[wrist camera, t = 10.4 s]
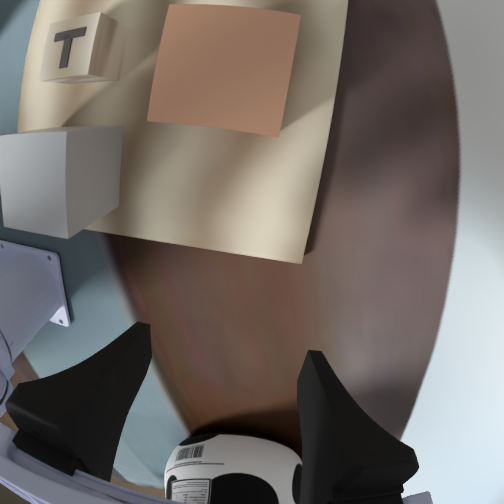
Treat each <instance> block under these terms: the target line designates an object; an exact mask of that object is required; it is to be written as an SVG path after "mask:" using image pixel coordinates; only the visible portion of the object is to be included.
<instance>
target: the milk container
mask: <svg viewBox="0 0 504 504" xmlns="http://www.w3.org/2000/svg"><path fill="white" fill-rule="evenodd" d="M301 477H302V461H301V459H300V457H299V456H298V455H297V454H296V453H295V452H294V451H293V450H292V449H291V448H290V447H288V446H286V445H284V444H282V443H279V442H277V441H274V440H272V439H270V438H265V437H260V436H256V435H252V434H245V433H231V432H220V433H207V434H202V435H198V436H194V437H191V438H188V439H185V440H184V441H182V442H181V443H180V444H179V445H178V446H177V447H176V448H175V449H174V451H173V452H172V454H171V456H170V458H169V460H168V463H167V465H166V469H165V476H164V481H165V494H166V499H168V500H173V501H177V502H182V503H187V504H299V502H300V491H301Z"/></svg>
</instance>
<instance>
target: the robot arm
mask: <svg viewBox="0 0 504 504" xmlns="http://www.w3.org/2000/svg"><path fill="white" fill-rule="evenodd" d="M50 257H51V258H50ZM48 321H51V322H54V323H57V324H60V325H63V326H66V327H68V326H69V325H70V324H71V322H70V317H69V313H68V308H67V303H66V297H65V292H64V286H63V280H62V274H61V267H60V259H59V256H58V254H57V253H55V252H50V251H46V250H41V249H37V248H33V247H28V246H24V245H20V244H16V243H11V242H7V241H3V240H0V417H1V416H2V415H3V414H4V413H5V411H6V410H7V412H8V414H9V415H10V417H11V418H12V420H13V421H14V423H15V424H16V426H17V427H18V428H19V430H18V432H17V434H16V433H15V432H14V431H12V430H11V429H10V428H8V427H6V426H5V425H3V424H2V423H0V483H2V484H3V485H4V486H6V487H7V488H9V489H10V490H12V491H13V492H15V493H16V494H18V495H19V496H21V497H22V498H24V499H25V500H27V501H29V502H31V503H32V504H187V503H182V502H177V501H173V500H168V499H164V498H160V497H156V496H152V495H149V494H145V493H141V492H138V491H134V490H131V489H128V488H125V487H122V486H119V485H116V484H113V483H110V479H111V474H112V469H113V464H114V460H115V455H116V451H117V447H118V444H119V440H120V436H121V433H122V430H123V427H124V423H125V420H126V417H127V415H128V412H129V410H130V408H131V406H132V403H133V401H134V399H135V397H136V395H137V393H138V391H139V389H140V387H141V384H142V382H143V380H144V378H145V376H146V373H147V370H148V368H149V364H150V361H151V358H152V350H151V336H150V324H146V323H141V322H136V323H135V324H134V325H132V326H131V327H130V328H129V329H128V330H126V331H125V332H124V333H123V334H121V335H120V336H119V337H118V338H116V339H115V340H114V341H112V342H111V343H110V344H108V345H107V346H106V347H104V348H103V349H101V350H100V351H98V352H97V353H95V354H94V355H93V356H91V357H89V358H88V359H86V360H84V361H82V362H81V363H79V364H77V365H75V366H73V367H71V368H68V369H66V370H64V371H61V372H59V373H57V374H54V375H51V376H48V377H45V378H41V379H38V380H33V381H29V382H24V383H19V384H18V385H17V387H16V388H15V389H14V391H13V392H12V384H11V382H10V380H9V379H10V378H11V377H12V375H13V374H14V373H15V371H14V369H13V367H12V365H11V364H12V363H13V362H14V360H15V359H16V358H17V357H18V356H19V354H20V353H21V352H22V351H23V350H24V348H25V347H26V346H27V345H28V344H29V343H30V341H31V340H32V339H33V338H34V337H35V336H36V334H37V333H38V332H39V331H40V330H41V329H42V328H43V327H44V325H45V324H46V323H47V322H48ZM297 402H298V411H299V419H300V427H301V436H302V477H301V491H300V502H299V504H433V502H432V499H431V495H430V492H428V491H427V492H423V493H419V494H415V495H410V496H407V497H405V498H403V499H402V497H401V493H403V491H404V488H403V484H404V483H405V482H406V481H408V480H409V479H410V478H411V477H412V476H413V475H414V474H415V473H416V472H417V471H418V469H419V464H418V461H417V457H416V454H415V452H414V449H412V448H411V447H409V446H408V445H406V444H404V443H403V442H401V441H399V440H398V439H396V438H395V437H393V436H392V435H391V434H389V433H388V432H386V431H385V430H384V429H383V428H381V427H380V426H379V425H378V424H377V423H376V422H375V421H373V420H372V419H371V418H370V417H369V416H368V415H367V414H366V413H365V412H364V411H363V410H362V409H361V408H360V407H359V405H358V404H357V403H356V402H355V401H354V400H353V398H352V397H351V396H350V394H349V393H348V392H347V390H346V389H345V388H344V386H343V385H342V383H341V382H340V380H339V379H338V377H337V376H336V374H335V373H334V371H333V370H332V368H331V366H330V365H329V363H328V361H327V360H326V358H325V356H324V355H323V353H322V352H321V351H314V350H308V352H307V355H306V358H305V361H304V364H303V366H302V369H301V372H300V374H299V377H298V380H297Z"/></svg>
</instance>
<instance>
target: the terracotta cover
mask: <svg viewBox="0 0 504 504" xmlns="http://www.w3.org/2000/svg"><path fill="white" fill-rule="evenodd" d="M300 19H301V15H298V14H292V13H287V12H281V11H274V10H267V9H260V8H251V7H242V6H229V5H211V4H170V5H169V8H168V12H167V16H166V20H165V25H164V29H163V33H162V38H161V42H160V47H159V52H158V56H157V62H156V67H155V72H154V78H153V84H152V90H151V96H150V103H149V110H148V117H147V121H149V122H163V123H175V124H186V125H196V126H205V127H213V128H221V129H228V130H235V131H242V132H248V133H254V134H260V135H266V136H272V137H277V138H279V135H280V129H281V124H282V118H283V113H284V108H285V102H286V97H287V91H288V86H289V80H290V75H291V69H292V64H293V58H294V53H295V47H296V41H297V36H298V30H299V25H300Z"/></svg>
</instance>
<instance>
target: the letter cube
mask: <svg viewBox="0 0 504 504" xmlns="http://www.w3.org/2000/svg"><path fill="white" fill-rule="evenodd" d="M128 30H129V28H128V27H126V26H125V25H123V24H121V23H120V22H118V21H116V20H114V19H113V18H111V17H109V16H107V15H106V14H104V13H102V12H98V13H93V14H88V15H83V16H78V17H74V18H70V19H66V20H62V21H58V22H55V23H51V24H50V27H49V31H48V35H47V39H46V44H45V49H44V54H43V59H42V64H41V70H40V77H39V81H41V82H54V83H65V84H82V83H93V82H107V81H119V78H120V71H121V65H122V60H123V54H124V49H125V44H126V39H127V34H128Z"/></svg>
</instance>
